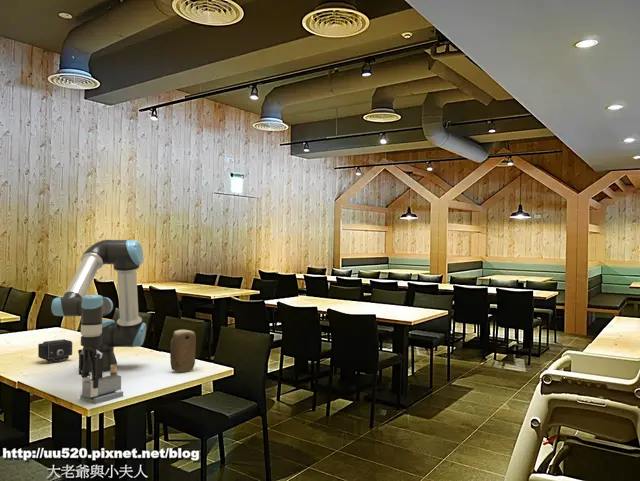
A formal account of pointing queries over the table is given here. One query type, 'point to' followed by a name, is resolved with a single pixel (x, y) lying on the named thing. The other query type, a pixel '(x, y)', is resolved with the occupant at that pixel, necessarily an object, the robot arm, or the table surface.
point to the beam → (114, 369)
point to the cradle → (103, 397)
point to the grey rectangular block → (103, 385)
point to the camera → (55, 350)
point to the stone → (183, 350)
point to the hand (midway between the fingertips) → (89, 395)
